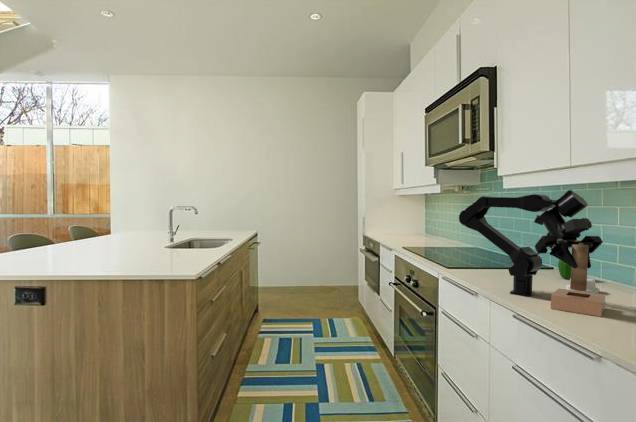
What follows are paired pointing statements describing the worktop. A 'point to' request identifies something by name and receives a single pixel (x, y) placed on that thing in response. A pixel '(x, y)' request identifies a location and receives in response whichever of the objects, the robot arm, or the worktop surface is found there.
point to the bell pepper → (564, 269)
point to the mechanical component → (588, 287)
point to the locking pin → (579, 267)
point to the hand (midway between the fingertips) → (582, 267)
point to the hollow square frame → (578, 302)
